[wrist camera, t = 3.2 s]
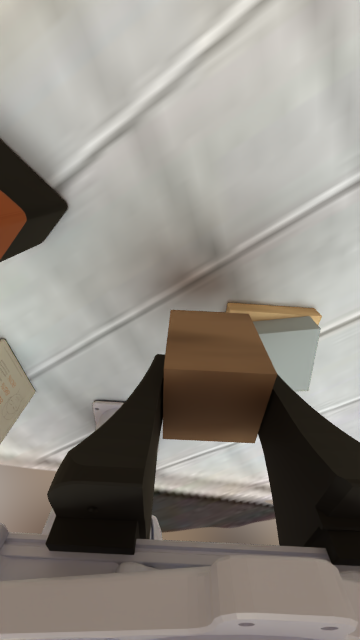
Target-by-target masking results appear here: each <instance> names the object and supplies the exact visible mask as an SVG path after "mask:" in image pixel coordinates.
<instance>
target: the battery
mask: <svg viewBox="0 0 360 640" xmlns="http://www.w3.org/2000/svg"><path fill="white" fill-rule="evenodd" d="M66 210H67V204H66V203H65V201H64V200H63V199H62V198H61V197H60V196H59V195H58V194H57V193H56V192H55V191H53V190H52V189H51V188H50V187H49V186H48V185H47V184H46V183H45V182H44V181H43V180H42V179H41V178H40V177H39V176H38V175H37V174H36V173H35V172H33V171H32V170H31V169H30V168H29V167H28V166H27V165H26V164H25V163H24V162H23V161H22V160H21V159H20V158H19V157H18V156H17V155H16V154H15V153H14V152H12V151H11V150H10V149H9V148H8V147H7V146H6V145H5V144H4V143H3V142H2V141H1V140H0V262H2V261H4V260H6V259H8V258H10V257H12V256H15V255H17V254H19V253H21V252H23V251H26V250H28V249H30V248H32V247H34V246H36V245H39V244H41V243H42V242H43V241H44V239H45V238H46V237H47V235H48V234H49V233H50V231H51V230H52V229H53V227H54V226H55V225H56V223H57V222H58V221H59V219H60V218H61V217H62V215H63V214H64V213H65V211H66Z"/></svg>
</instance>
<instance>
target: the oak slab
mask: <svg viewBox="0 0 360 640" xmlns="http://www.w3.org/2000/svg"><path fill="white" fill-rule="evenodd" d="M226 313H245V314H249V315H250V317H251V319H252V321H263V320H274V319H284V318H294V317H304V316H310V317H311V318H312V319H313V320H314V322H315V323H316V324H317V325H318V324H319V322H320V320H321V317H322V316H321V315H320V314H319V313H318V312H317V310H316V309H315V308H301V307H286V306H271V305H256V304H241V303H228V304H227V309H226Z"/></svg>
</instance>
